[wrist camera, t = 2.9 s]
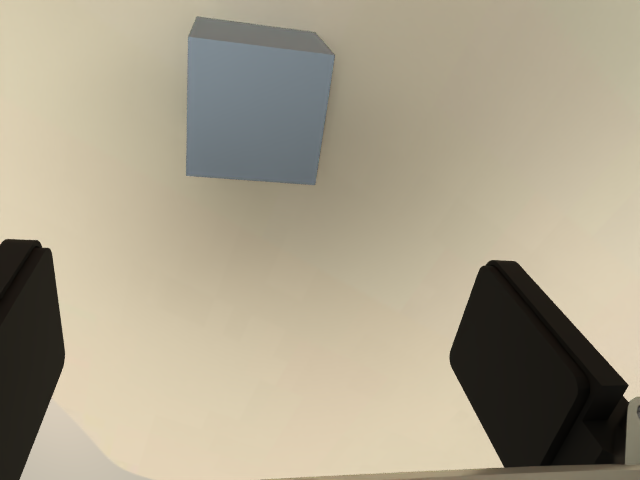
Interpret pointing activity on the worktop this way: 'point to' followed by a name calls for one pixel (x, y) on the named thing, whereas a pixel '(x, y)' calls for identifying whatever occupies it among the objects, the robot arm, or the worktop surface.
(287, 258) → the worktop surface
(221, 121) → the slate cube
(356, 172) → the worktop surface
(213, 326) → the worktop surface
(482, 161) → the worktop surface
